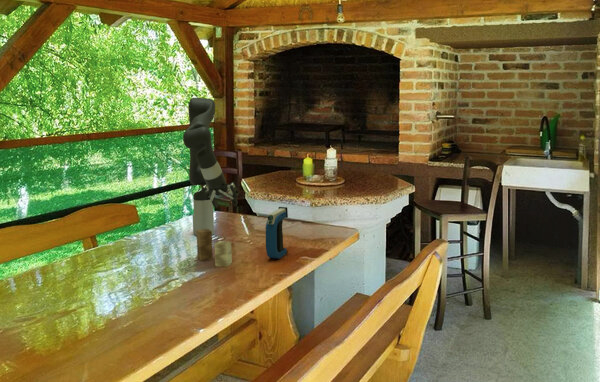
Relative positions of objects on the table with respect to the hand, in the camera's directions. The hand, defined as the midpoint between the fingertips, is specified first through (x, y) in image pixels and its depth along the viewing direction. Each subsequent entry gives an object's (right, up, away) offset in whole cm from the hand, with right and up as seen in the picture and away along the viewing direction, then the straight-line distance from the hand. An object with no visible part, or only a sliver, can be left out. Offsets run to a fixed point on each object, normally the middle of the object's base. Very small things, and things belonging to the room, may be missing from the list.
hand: (226, 205), depth 253 cm
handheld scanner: (+20, -21, +7) cm, 31 cm away
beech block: (-1, -23, -3) cm, 24 cm away
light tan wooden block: (-9, -22, +5) cm, 24 cm away
